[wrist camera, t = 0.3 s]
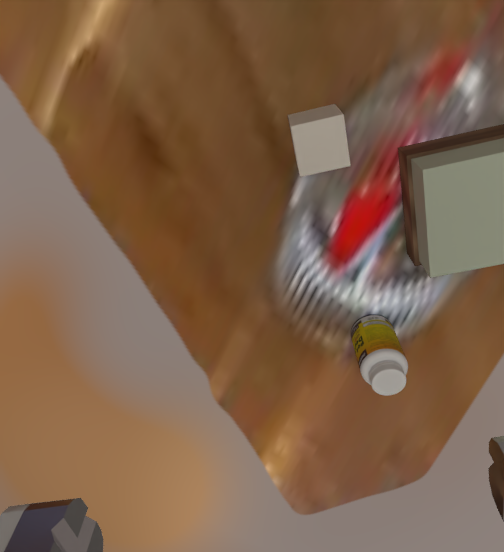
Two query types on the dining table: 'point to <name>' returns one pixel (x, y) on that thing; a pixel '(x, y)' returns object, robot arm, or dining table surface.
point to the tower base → (428, 149)
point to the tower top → (460, 208)
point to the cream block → (319, 140)
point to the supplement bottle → (379, 354)
